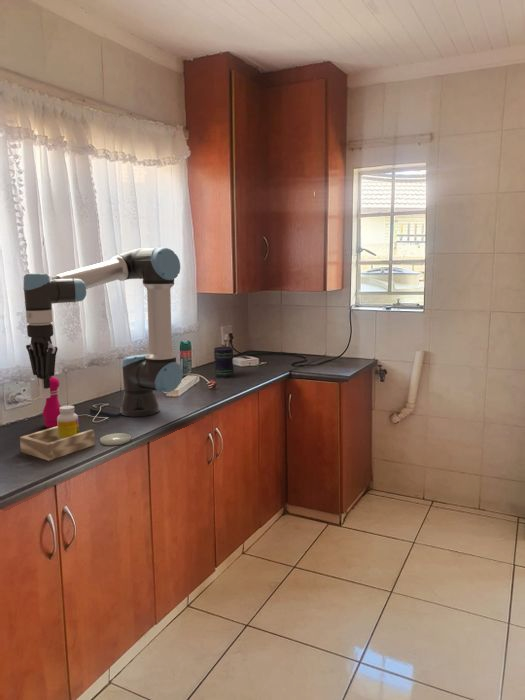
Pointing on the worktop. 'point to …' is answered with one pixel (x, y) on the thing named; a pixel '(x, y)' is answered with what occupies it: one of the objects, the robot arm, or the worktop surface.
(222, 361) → the dark blue canister
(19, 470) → the worktop surface
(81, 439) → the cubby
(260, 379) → the worktop surface
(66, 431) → the supplement bottle
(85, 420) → the worktop surface
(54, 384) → the pepper mill
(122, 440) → the sage green dome
